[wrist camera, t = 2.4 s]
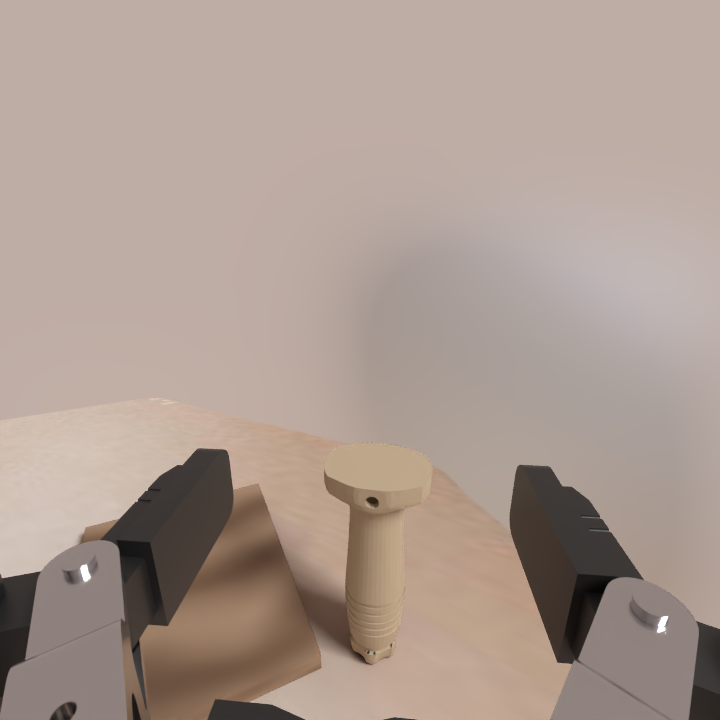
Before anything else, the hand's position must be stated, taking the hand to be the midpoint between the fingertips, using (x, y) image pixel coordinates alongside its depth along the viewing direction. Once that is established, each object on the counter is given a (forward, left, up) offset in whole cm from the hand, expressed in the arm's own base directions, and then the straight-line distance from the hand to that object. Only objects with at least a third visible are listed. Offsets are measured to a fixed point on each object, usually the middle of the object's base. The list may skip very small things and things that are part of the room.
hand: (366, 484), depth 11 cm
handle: (-10, +6, -22) cm, 25 cm away
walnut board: (-20, -6, -22) cm, 30 cm away
